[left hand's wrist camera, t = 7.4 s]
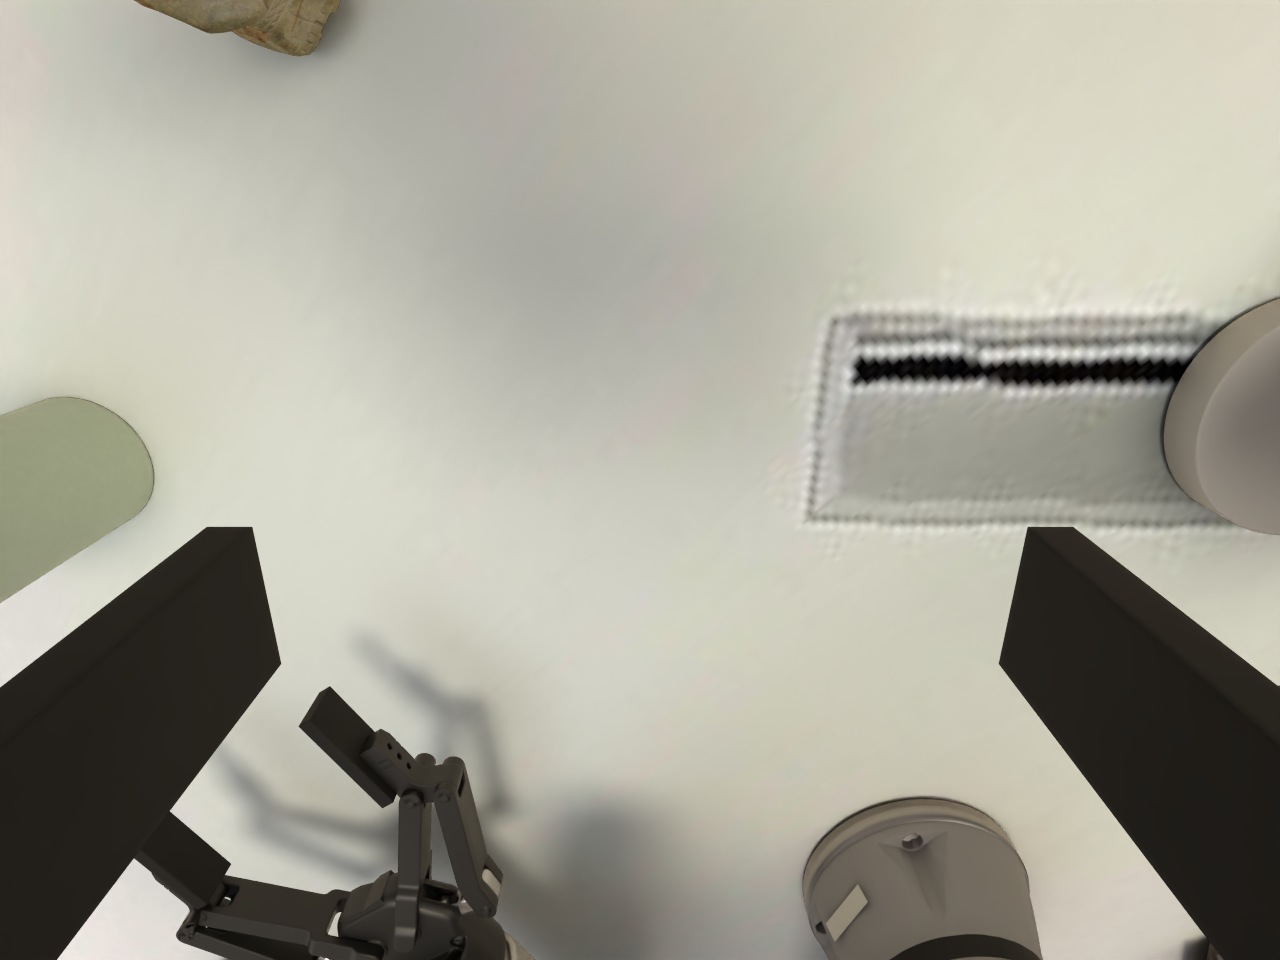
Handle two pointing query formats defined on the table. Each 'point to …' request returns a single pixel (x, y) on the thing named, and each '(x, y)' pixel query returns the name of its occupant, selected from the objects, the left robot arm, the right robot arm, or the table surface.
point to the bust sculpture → (1231, 423)
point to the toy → (1213, 954)
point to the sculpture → (256, 20)
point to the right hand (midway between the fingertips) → (218, 761)
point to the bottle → (64, 484)
